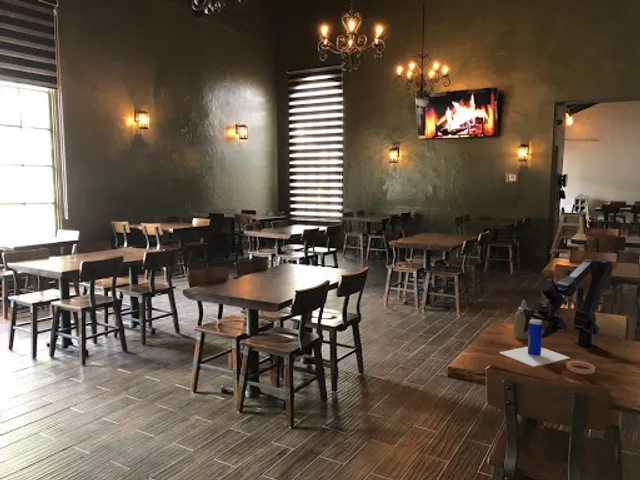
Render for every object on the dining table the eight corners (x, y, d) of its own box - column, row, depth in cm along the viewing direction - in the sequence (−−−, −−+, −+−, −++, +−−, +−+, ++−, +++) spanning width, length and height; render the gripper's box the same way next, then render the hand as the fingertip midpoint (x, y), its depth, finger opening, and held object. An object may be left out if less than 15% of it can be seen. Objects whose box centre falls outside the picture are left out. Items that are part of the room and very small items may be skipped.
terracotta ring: (577, 363, 216) (577, 359, 216) (600, 371, 208) (600, 367, 207) (560, 367, 212) (561, 363, 212) (583, 375, 203) (583, 371, 203)
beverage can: (528, 352, 228) (530, 318, 226) (541, 354, 226) (543, 319, 224) (526, 355, 224) (528, 321, 222) (539, 357, 221) (541, 322, 219)
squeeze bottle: (530, 336, 252) (532, 299, 249) (531, 341, 244) (533, 303, 242) (512, 334, 254) (514, 297, 252) (512, 339, 247) (514, 301, 244)
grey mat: (535, 345, 238) (535, 345, 238) (570, 358, 222) (570, 357, 222) (499, 353, 228) (499, 352, 227) (533, 367, 212) (533, 366, 212)
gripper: (526, 290, 231) (506, 317, 228) (563, 299, 215) (542, 329, 211) (538, 305, 236) (518, 333, 232) (575, 315, 219) (555, 345, 216)
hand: (533, 334), depth 223 cm, fingers open, 9 cm apart
